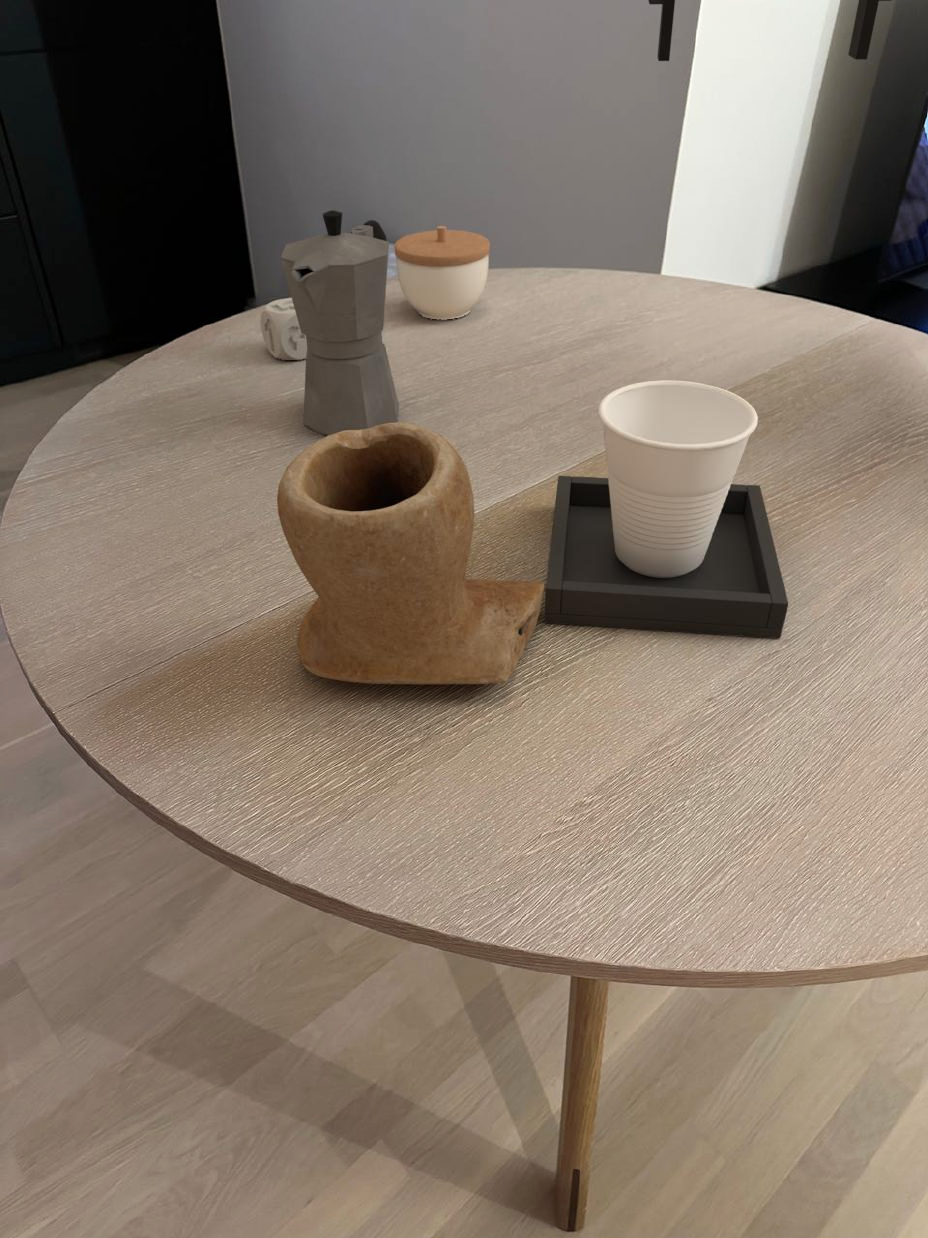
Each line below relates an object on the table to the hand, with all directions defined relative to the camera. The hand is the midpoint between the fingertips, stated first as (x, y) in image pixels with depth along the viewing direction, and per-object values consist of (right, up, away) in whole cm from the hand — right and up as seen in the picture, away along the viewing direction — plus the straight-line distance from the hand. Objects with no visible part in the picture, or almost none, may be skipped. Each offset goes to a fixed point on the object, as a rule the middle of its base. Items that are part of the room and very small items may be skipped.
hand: (759, 58), depth 67 cm
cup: (-8, -36, -1) cm, 37 cm away
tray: (-8, -37, -1) cm, 37 cm away
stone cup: (-24, -43, -9) cm, 50 cm away
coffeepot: (-31, -21, +20) cm, 43 cm away
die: (-39, -12, +32) cm, 52 cm away
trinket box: (-24, -5, +42) cm, 48 cm away
